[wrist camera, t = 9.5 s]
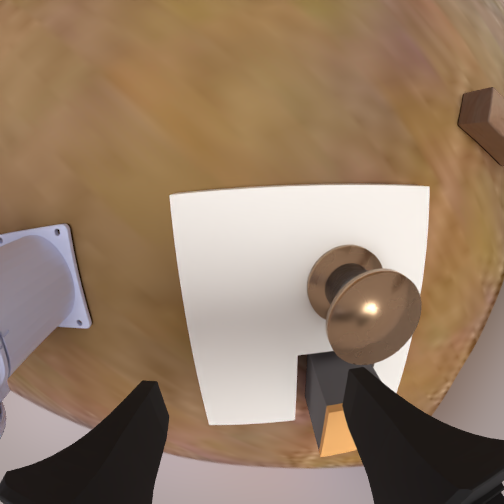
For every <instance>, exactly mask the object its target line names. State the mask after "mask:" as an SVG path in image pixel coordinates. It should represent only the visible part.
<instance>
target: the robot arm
mask: <svg viewBox="0 0 504 504" xmlns="http://www.w3.org/2000/svg"><path fill="white" fill-rule="evenodd" d="M58 229H59V231H60V234H58ZM2 240H3V241H2ZM79 320H80V321H81V322H82V323H81V322H80V321H79ZM91 324H92V322H91V318H90V315H89V311H88V308H87V304H86V301H85V297H84V293H83V289H82V285H81V281H80V277H79V273H78V268H77V263H76V259H75V254H74V249H73V243H72V238H71V232H70V228H69V226H68V225H67V224H57V225H51V226H45V227H39V228H33V229H27V230H21V231H16V232H10V233H5V234H0V438H1V437H2V435H3V432H4V429H5V425H6V412H5V408H4V405H3V403H2V400H3V399H4V398H5V397H6V395H7V394H8V393H9V392H10V389H9V386H8V383H7V379H8V378H9V377H10V376H11V374H12V373H13V372H14V371H15V370H16V369H17V368H18V367H19V366H20V365H21V363H22V362H23V361H24V360H25V359H26V358H27V357H28V356H29V355H30V354H31V353H32V352H33V351H34V350H35V349H36V348H37V347H38V346H39V345H40V344H41V342H42V341H43V340H44V339H45V338H46V337H47V336H48V335H49V334H50V333H51V332H52V331H53V330H54V329H55V328H56V327H70V328H89V327H90V326H91ZM342 407H343V411H344V415H345V419H346V422H347V426H348V429H349V431H350V434H351V436H352V438H353V441H354V443H355V446H356V448H357V450H358V453H359V455H360V458H361V460H362V462H363V465H364V467H365V470H366V473H367V476H368V479H369V483H370V487H371V491H372V495H373V500H374V504H504V496H503V495H502V493H501V491H503V490H504V486H503V484H502V481H504V440H499V439H491V438H487V437H483V436H479V435H475V434H472V433H469V432H465V431H463V430H460V429H457V428H455V427H452V426H450V425H448V424H445V423H443V422H441V421H439V420H437V419H435V418H433V417H432V416H430V415H428V414H426V413H424V412H423V411H421V410H420V409H418V408H416V407H415V406H413V405H412V404H410V403H409V402H407V401H406V400H405V399H403V398H402V397H400V396H399V395H398V394H397V393H395V392H394V391H393V390H391V389H390V388H389V387H388V386H386V385H385V384H384V383H383V382H381V381H380V380H379V379H378V378H377V377H375V376H374V375H373V374H372V373H371V372H369V371H368V370H367V369H366V368H365V367H359V368H353V369H349V371H348V377H347V383H346V388H345V394H344V399H343V404H342ZM168 423H169V414H168V411H167V409H166V406H165V403H164V400H163V397H162V394H161V392H160V389H159V385H158V382H157V381H142V382H141V383H140V384H139V385H138V386H137V387H136V388H135V389H134V390H133V391H132V392H131V393H130V394H129V395H128V396H127V397H126V398H125V399H124V400H123V401H122V402H121V403H120V404H119V405H118V406H117V407H116V408H115V409H114V410H113V411H112V412H111V413H110V414H109V415H108V416H107V417H106V418H105V419H104V420H103V421H102V422H100V423H99V424H98V425H97V426H96V427H95V428H94V429H92V430H91V431H90V432H89V433H87V434H86V435H85V436H83V437H82V438H81V439H79V440H78V441H76V442H75V443H74V444H72V445H70V446H69V447H67V448H65V449H63V450H62V451H60V452H58V453H56V454H54V455H53V456H51V457H49V458H46V459H44V460H42V461H39V462H37V463H35V464H32V465H29V466H26V467H22V468H19V469H15V470H11V471H7V472H6V474H5V476H4V477H3V480H2V481H1V483H0V501H1V502H3V503H4V504H152V497H153V489H154V484H155V479H156V476H157V472H158V468H159V465H160V461H161V457H162V454H163V450H164V446H165V442H166V438H167V431H168Z"/></svg>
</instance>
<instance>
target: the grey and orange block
mask: <svg viewBox="0 0 504 504" xmlns="http://www.w3.org/2000/svg"><path fill="white" fill-rule="evenodd" d="M359 367H365V368H366V369H367V370H368V371H369V372H371V373H372V374H373V375H374V376H375V377H377V378H378V379H379V380H380V378H379V376H378V375H377V373H376V371H375V370H374V368H373V366H372V365H371V364H368V365H355V364H351V363H348V362H346V361H344V360H342V359H341V358H339V357H338V356H337V355H336V353H335V352H334V351H329V352H321V353H313V354H307V373H306V389H305V398H306V402H307V406H308V410H309V414H310V418H311V421H312V425H313V429H314V433H315V437H316V441H317V445H318V449H319V453H320V457H324V456H330V455H335V454H340V453H345V452H349V451H354V450H357V448H356V446H355V443H354V441H353V438H352V436H351V434H350V431H349V429H348V426H347V422H346V419H345V415H344V411H343V407H342V404H343V399H344V394H345V388H346V383H347V377H348V371H349V369H353V368H359ZM380 381H381V380H380ZM381 382H382V381H381Z"/></svg>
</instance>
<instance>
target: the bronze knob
mask: <svg viewBox="0 0 504 504" xmlns="http://www.w3.org/2000/svg"><path fill="white" fill-rule="evenodd" d="M307 295H308V299H309V301H310V303H311V305H312V307H313V309H314V310H315V312H316V313H317V314H318V315H319V316H320V317H322V318H323V319H325V320H326V335H327V338H328V341H329V343H330V345H331V347H332V349H333V351H334V352H335V353H336V355H337V356H338V357H339V358H341V359H342V360H344V361H346V362H348V363H351V364H355V365H368V364H374V363H377V362H380V361H383V360H385V359H387V358H389V357H390V356H392V355H393V354H395V353H396V352H397V351H399V350H400V349H401V348H402V347H403V346H404V345H405V344H406V343H407V342H408V340H409V339H410V338H411V336H412V335H413V333H414V331H415V329H416V327H417V325H418V322H419V319H420V315H421V297H420V293H419V291H418V289H417V287H416V286H415V284H414V283H413V282H412V281H411V280H410V279H408V278H407V277H406V276H404V275H403V274H401V273H400V272H398V271H395V270H392V269H386V268H383V267H382V265H381V263H380V261H379V260H378V258H377V257H376V256H375V255H374V254H373V253H372V252H370V251H369V250H367V249H366V248H364V247H361V246H358V245H348V244H347V245H341V246H337V247H335V248H332V249H331V250H329V251H327V252H326V253H324V254H323V255H322V256H321V257H320V258H319V259H318V260H317V261H316V262H315V264H314V265H313V267H312V269H311V271H310V273H309V276H308V280H307Z"/></svg>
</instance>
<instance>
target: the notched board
mask: <svg viewBox="0 0 504 504" xmlns="http://www.w3.org/2000/svg"><path fill="white" fill-rule="evenodd" d="M170 205H171V215H172V224H173V233H174V241H175V249H176V257H177V264H178V271H179V278H180V285H181V291H182V297H183V303H184V309H185V315H186V321H187V326H188V332H189V337H190V342H191V347H192V352H193V357H194V362H195V367H196V371H197V376H198V380H199V385H200V389H201V394H202V398H203V402H204V406H205V410H206V414H207V418H208V422H209V425H236V424H257V423H271V422H281V421H291V420H295V408H296V387H297V360H298V355H305V354H313V353H321V352H329V351H333V349H332V347H331V345H330V343H329V341H328V338H327V335H326V320H325V319H323V318H322V317H320V316H319V315H318V314H317V313H316V312H315V310H314V309H313V307H312V305H311V303H310V301H309V299H308V295H307V280H308V276H309V273H310V271H311V269H312V267H313V265H314V264H315V262H316V261H317V260H318V259H319V258H320V257H321V256H322V255H323V254H324V253H326V252H327V251H329V250H331V249H332V248H335V247H337V246H341V245H347V244H348V245H358V246H361V247H364V248H366V249H367V250H369V251H370V252H372V253H373V254H374V255H375V256H376V257H377V258H378V260H379V261H380V263H381V265H382V267H383V268H386V269H392V270H395V271H398V272H400V273H401V274H403V275H404V276H406V277H407V278H408V279H410V280H411V281H412V282H413V283H414V284H415V286H416V287H417V289H418V291H419V293H421V286H422V280H423V272H424V264H425V256H426V246H427V234H428V218H429V187H428V186H421V185H405V184H301V185H275V186H256V187H240V188H226V189H213V190H202V191H191V192H181V193H174V194H171V195H170ZM411 338H412V336H411ZM411 338H410V339H409V340H408V342H407V343H406V344H405V345H404V346H403V347H402V348H401V349H400V350H399V351H397V352H396V353H395V354H393V355H392V356H390V357H389V358H387V359H385V360H383V361H380V362H377V363H374V364H371V365H372V366H373V368H374V370H375V371H376V373H377V375H378V376H379V378H380V380H381V381H382V382H383V383H384V384H385V385H386V386H388V387H389V388H390V389H391V390H393V391H394V392H395V393H396V392H397V389H398V386H399V383H400V380H401V376H402V373H403V369H404V366H405V362H406V358H407V355H408V351H409V347H410V343H411Z"/></svg>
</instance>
